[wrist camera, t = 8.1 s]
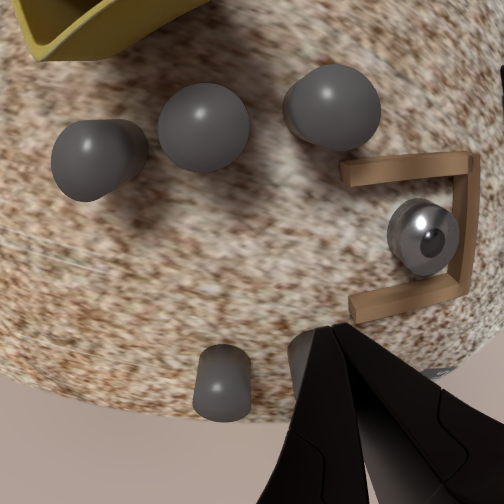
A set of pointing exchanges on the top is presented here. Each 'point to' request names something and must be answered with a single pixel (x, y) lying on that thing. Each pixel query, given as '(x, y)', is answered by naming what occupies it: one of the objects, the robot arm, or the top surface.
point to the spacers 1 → (213, 130)
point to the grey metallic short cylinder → (423, 236)
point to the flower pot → (92, 25)
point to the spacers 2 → (238, 379)
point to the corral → (464, 211)
